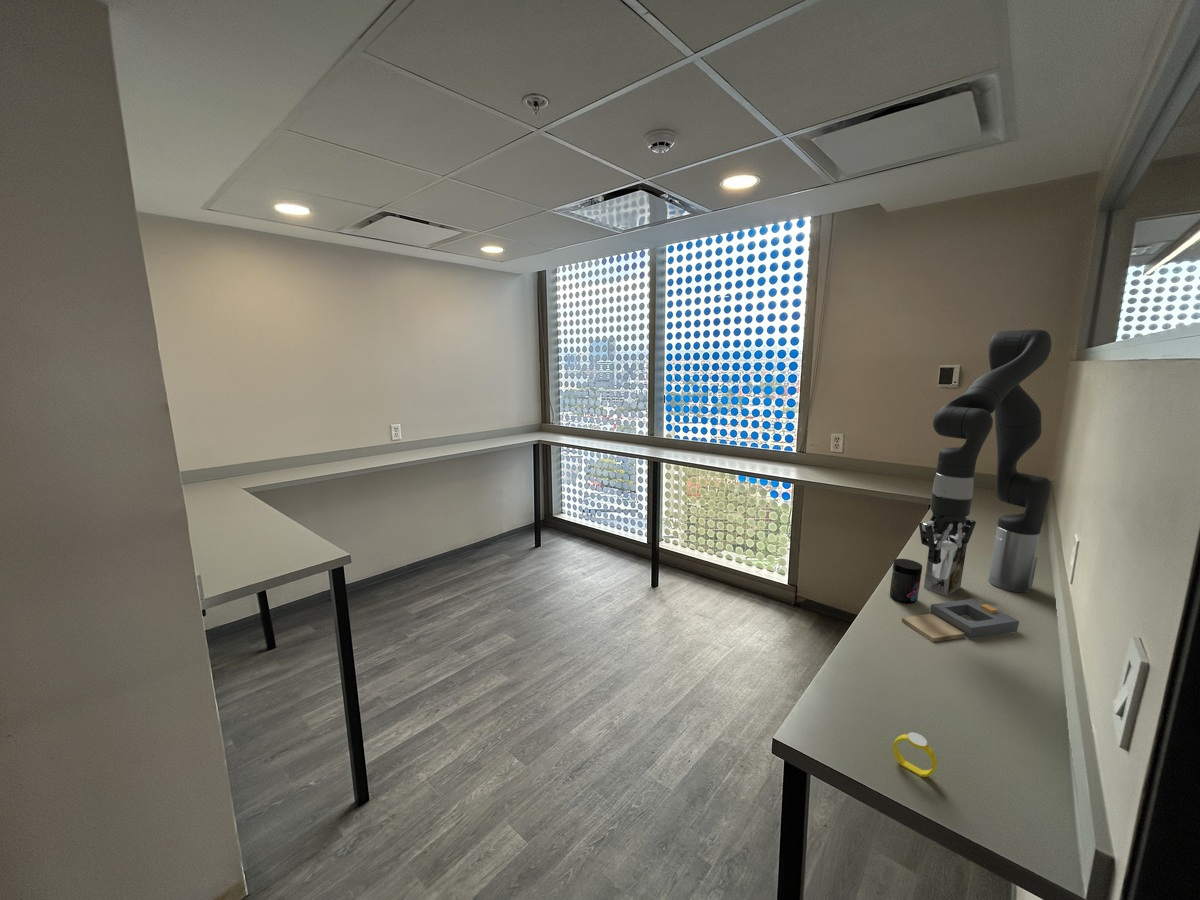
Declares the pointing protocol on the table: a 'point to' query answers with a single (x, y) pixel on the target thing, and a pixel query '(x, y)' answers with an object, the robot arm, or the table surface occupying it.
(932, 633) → the cork pad
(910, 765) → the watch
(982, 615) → the gray window plate
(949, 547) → the milkshake
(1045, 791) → the table surface
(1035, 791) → the table surface
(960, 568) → the coffee box
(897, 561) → the supplement container
